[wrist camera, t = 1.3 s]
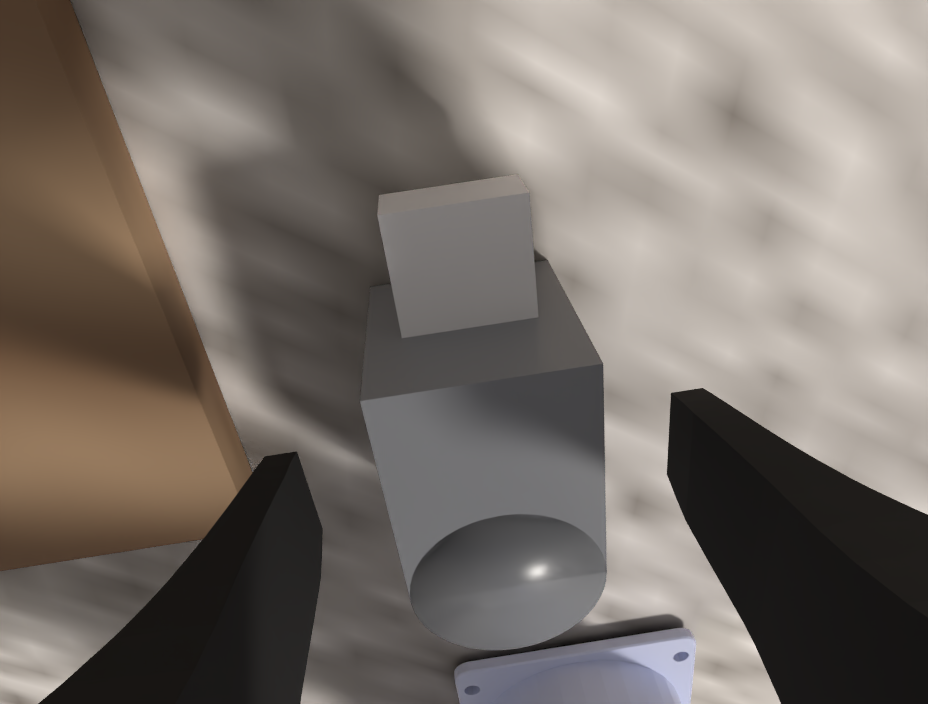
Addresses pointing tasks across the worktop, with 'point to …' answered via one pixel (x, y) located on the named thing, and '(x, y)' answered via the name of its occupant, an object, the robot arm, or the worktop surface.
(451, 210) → the plug
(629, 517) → the worktop surface
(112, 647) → the robot arm
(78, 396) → the board
